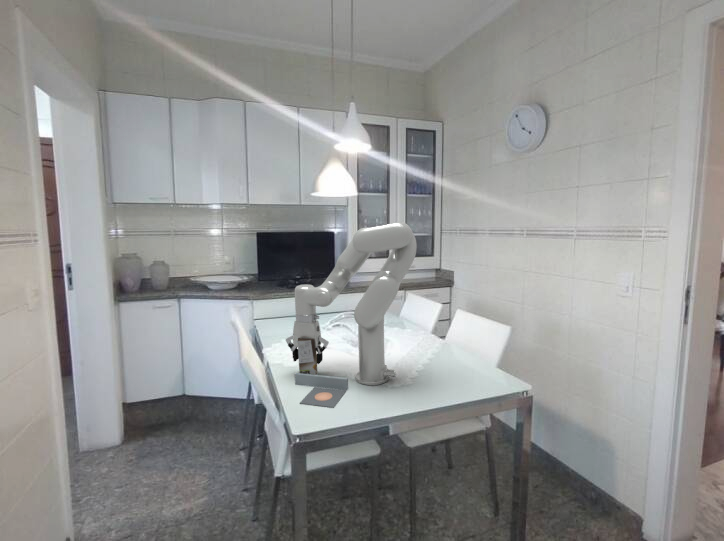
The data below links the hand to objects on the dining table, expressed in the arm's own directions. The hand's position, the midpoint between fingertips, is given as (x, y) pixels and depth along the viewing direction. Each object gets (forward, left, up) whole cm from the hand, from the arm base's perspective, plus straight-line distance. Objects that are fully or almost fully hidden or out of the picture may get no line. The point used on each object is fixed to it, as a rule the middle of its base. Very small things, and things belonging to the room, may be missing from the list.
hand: (307, 361), depth 147 cm
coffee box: (0, 0, -6) cm, 6 cm away
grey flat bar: (-8, +7, -6) cm, 12 cm away
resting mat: (-12, +14, -6) cm, 20 cm away
